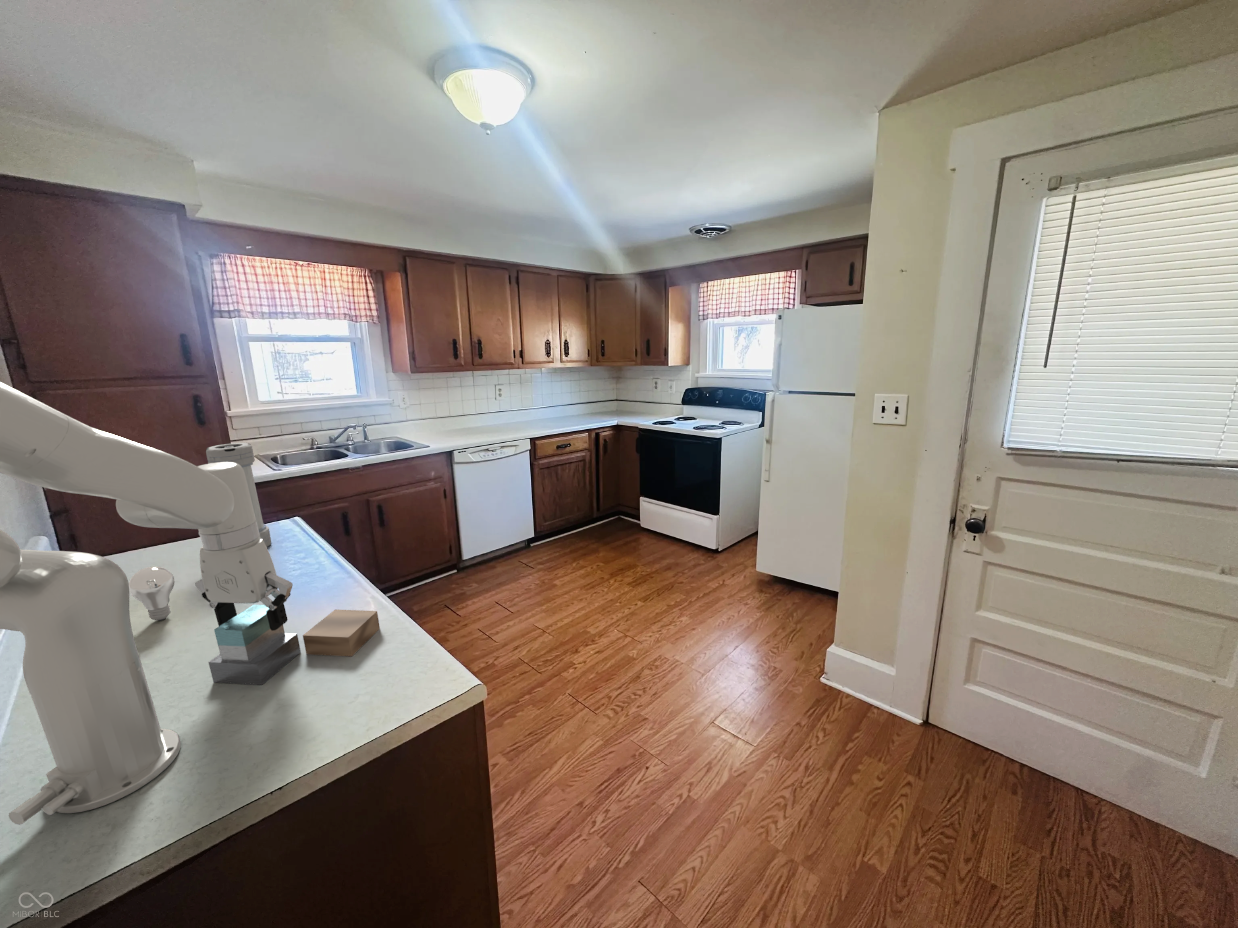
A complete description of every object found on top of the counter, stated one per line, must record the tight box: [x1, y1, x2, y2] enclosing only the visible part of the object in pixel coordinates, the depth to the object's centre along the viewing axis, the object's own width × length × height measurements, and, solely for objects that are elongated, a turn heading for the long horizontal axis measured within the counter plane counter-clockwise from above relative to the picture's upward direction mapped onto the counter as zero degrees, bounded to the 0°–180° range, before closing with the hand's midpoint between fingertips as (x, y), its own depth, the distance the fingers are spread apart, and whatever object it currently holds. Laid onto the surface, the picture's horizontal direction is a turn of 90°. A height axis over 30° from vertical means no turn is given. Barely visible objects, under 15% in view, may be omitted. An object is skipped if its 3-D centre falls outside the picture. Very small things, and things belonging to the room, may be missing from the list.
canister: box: [205, 442, 272, 548], centre depth 136 cm, size 10×10×30 cm
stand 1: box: [208, 632, 302, 686], centre depth 86 cm, size 9×9×4 cm
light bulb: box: [128, 565, 176, 622], centre depth 101 cm, size 7×7×12 cm
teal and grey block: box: [213, 604, 286, 662], centre depth 85 cm, size 8×5×6 cm, turn 174°
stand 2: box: [302, 609, 381, 658], centre depth 93 cm, size 9×9×4 cm
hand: (254, 624), depth 85 cm, fingers open, 9 cm apart
